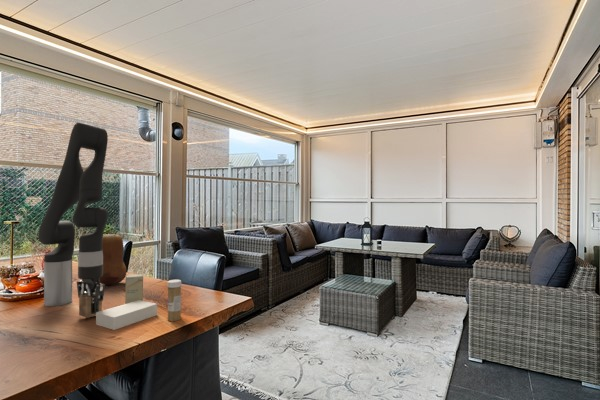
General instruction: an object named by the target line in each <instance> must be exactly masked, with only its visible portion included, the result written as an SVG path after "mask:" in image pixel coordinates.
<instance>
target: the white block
mask: <svg viewBox="0 0 600 400" xmlns="http://www.w3.org/2000/svg"><path fill="white" fill-rule="evenodd" d="M156 316H158V303H154V302H151V301H145V300H143V301H142V300H138V301H134V302H131V303H127V304H125V303H123V304H121V305H118V306H113V307H110V308H107V309H104V310H103V309H102V311H99V312H96V315H95V325H97V326H99V327H102V328H106V329H110V330H113V331H115V330H119V329H121V328H124V327H127V326H130V325H133V324H135V323H139V322H141V321H144V320H147V319H149V318H152V317H156Z"/></svg>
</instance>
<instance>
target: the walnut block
mask: <svg viewBox="0 0 600 400" xmlns="http://www.w3.org/2000/svg"><path fill="white" fill-rule="evenodd" d="M92 294H95V293H92ZM94 298H95V296H94ZM102 303H103V301H100V302H99V311H103V309H102V307H103V306H102ZM78 307H79V308H78V316H80V317H83V318H86V319H87V318H91V317H94V316H95V317H96V313H95V314H92V313H91V297H89V296H88V294H85V295H79V297H78Z"/></svg>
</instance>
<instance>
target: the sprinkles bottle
mask: <svg viewBox="0 0 600 400" xmlns="http://www.w3.org/2000/svg"><path fill="white" fill-rule="evenodd" d="M166 283H167V285H166V287H167V318H166V320H167V321H170V322H176V321H179V320H182V316H181V314H182V313H181V309H182V291H181V290H182V280H181V279H170V280H168V281H167V282H166Z"/></svg>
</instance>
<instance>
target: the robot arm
mask: <svg viewBox="0 0 600 400" xmlns="http://www.w3.org/2000/svg"><path fill="white" fill-rule="evenodd" d="M108 138H109V136H108V132H107V130H106V129H105V128H103V127H101V126H97V125H93V124H90V123H85V122H81V121H78V122H76V123H75V124H74V126H73V127H72V130H71V133H70V137H69V140H68V146H67V149H66V154H65V158H64V161H63V164H62V167H61V169H60V173H59V174H58V178H57V181H56V183H55V186H54V191H53V194H52V198H51V200H50V202H49V206H48V207H47V209H46V213H45V214H44V217H43V219H42V221H41V223H40V225H39V229H38V240H39V242H40V243H41V244H42V245H48V246H49V245H51V246H52V245H57V247H56V248H54V249H53V250H52V251H50V252H46V254H44V256H43V289H44V290H43V298H44V299H43V306H45V307H58V306H65V305H68V304H70V303H72V302H73V254H74V252H75V239H76V238H75V236H76V235H75V233H76V231H75V227H77V228H80V229H81V228H83V229H85V228H96V229H95V230H94V231H93V232H89V233H86V234H85V233H84V234H82V235H80V236H79V238H78V239H79V240H78V257H77V278H78V279H80V280H78V281H76V288H77V289H76V290H77V297H78V298H79V295H85V294H88V296H89V297H91V313H92V314H95V313H96V312H99V302H100V301H102V302H103V301H104V296H105V290H106V284H101V283H100V281H99V278H100V277H101V276H103V252H102V241H103V235H104V233H105V230H106V226H107V223H108V220H109V211H108V210H107V208H105V207H101V206H100V207H99V206H98V207H92V206H91V207H87V206H88V205H89V204H95V203H99V202H101V200H102V199H103V174H104V168H105V163H106V162H105V161H106V155H107V149H108V143H109V141H108V140H109V139H108ZM82 148H83V149H86V150H91V151H94V157H93V159H92V161H91V162H90V164H89V165H88V166H87V167H86V168H85V169H83V166H82V163H81V160H80V152H81V149H82ZM75 204H77V205H76V207H75V210H74V213H73V215H72V221H71V220H61V219H62V218H63V216H64V215H65V214H66V213H67V212H68V211H69V210H70V209H71V208H72V207H73V206H74V205H75ZM92 293H95V294H92ZM94 296H95V298H94Z"/></svg>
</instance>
